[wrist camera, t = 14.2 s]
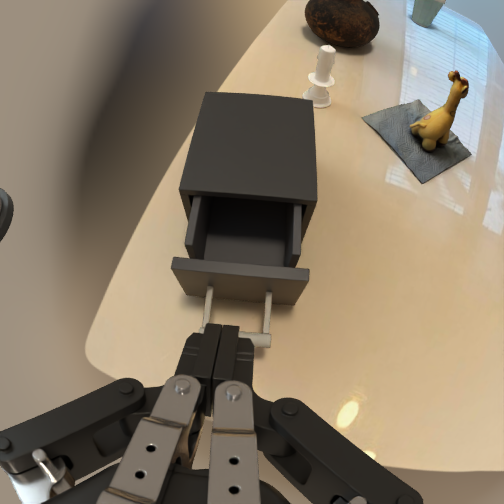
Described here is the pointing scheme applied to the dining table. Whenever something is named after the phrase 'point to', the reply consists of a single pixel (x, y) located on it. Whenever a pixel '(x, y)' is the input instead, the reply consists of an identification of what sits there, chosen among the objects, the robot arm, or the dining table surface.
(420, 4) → the disposable coffee cup
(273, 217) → the drawer
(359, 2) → the glass bottle
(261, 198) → the dark gray cabinet
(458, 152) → the stuffed giraffe
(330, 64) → the candle
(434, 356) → the dining table surface
